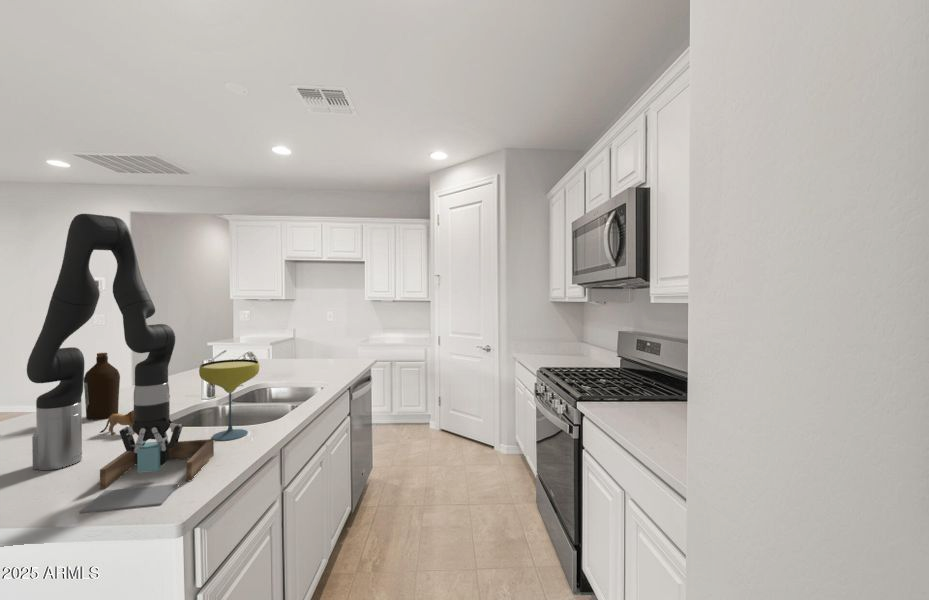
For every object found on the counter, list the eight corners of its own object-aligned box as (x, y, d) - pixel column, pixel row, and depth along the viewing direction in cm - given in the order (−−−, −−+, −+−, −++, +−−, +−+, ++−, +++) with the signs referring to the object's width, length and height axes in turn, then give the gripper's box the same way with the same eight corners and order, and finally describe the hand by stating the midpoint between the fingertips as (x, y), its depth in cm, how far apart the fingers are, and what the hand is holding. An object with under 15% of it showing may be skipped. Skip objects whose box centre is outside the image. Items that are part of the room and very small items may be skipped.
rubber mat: (79, 513, 93) (79, 511, 93) (105, 492, 102) (105, 490, 102) (161, 504, 97) (161, 503, 97) (179, 485, 106) (178, 483, 106)
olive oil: (121, 411, 168) (121, 350, 168) (118, 417, 160) (118, 353, 159) (86, 415, 162) (86, 352, 161) (81, 422, 153) (81, 356, 153)
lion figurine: (152, 428, 148) (152, 403, 148) (145, 433, 143) (145, 408, 143) (103, 431, 144) (103, 406, 144) (94, 437, 139) (94, 410, 139)
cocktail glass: (216, 426, 151) (216, 359, 150) (267, 426, 152) (267, 359, 152) (187, 445, 133) (187, 368, 132) (245, 444, 134) (245, 368, 134)
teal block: (137, 472, 106) (137, 449, 105) (146, 464, 110) (146, 442, 110) (157, 470, 107) (157, 447, 107) (166, 462, 112) (166, 441, 111)
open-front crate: (99, 489, 104) (99, 469, 104) (135, 461, 120) (135, 444, 120) (191, 480, 109) (191, 462, 109) (213, 455, 125) (213, 439, 125)
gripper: (111, 406, 103) (112, 473, 103) (177, 402, 106) (177, 467, 107) (127, 398, 110) (127, 461, 110) (188, 395, 114) (188, 456, 114)
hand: (152, 464), depth 108 cm, fingers closed on teal block, 4 cm apart
